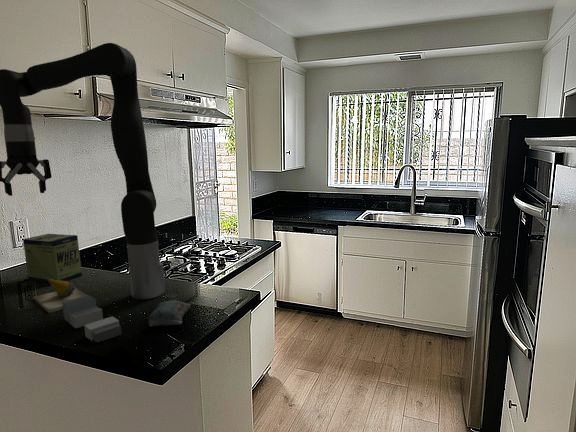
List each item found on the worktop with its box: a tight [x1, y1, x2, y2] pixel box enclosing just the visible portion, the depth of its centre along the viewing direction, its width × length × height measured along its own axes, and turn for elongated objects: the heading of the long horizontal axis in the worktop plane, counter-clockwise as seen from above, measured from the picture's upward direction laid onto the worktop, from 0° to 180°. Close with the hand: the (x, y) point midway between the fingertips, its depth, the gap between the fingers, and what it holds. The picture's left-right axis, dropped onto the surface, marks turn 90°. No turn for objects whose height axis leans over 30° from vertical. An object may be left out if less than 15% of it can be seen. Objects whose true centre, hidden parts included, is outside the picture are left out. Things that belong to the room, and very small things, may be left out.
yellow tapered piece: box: [47, 279, 76, 297], centre depth 128 cm, size 5×5×10 cm
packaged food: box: [147, 299, 192, 328], centre depth 109 cm, size 9×12×5 cm
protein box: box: [22, 233, 83, 284], centre depth 150 cm, size 10×16×16 cm
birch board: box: [33, 286, 87, 314], centre depth 128 cm, size 12×16×1 cm
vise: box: [62, 294, 122, 343], centre depth 108 cm, size 7×22×5 cm, turn 45°
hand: (26, 194), depth 126 cm, fingers open, 8 cm apart
